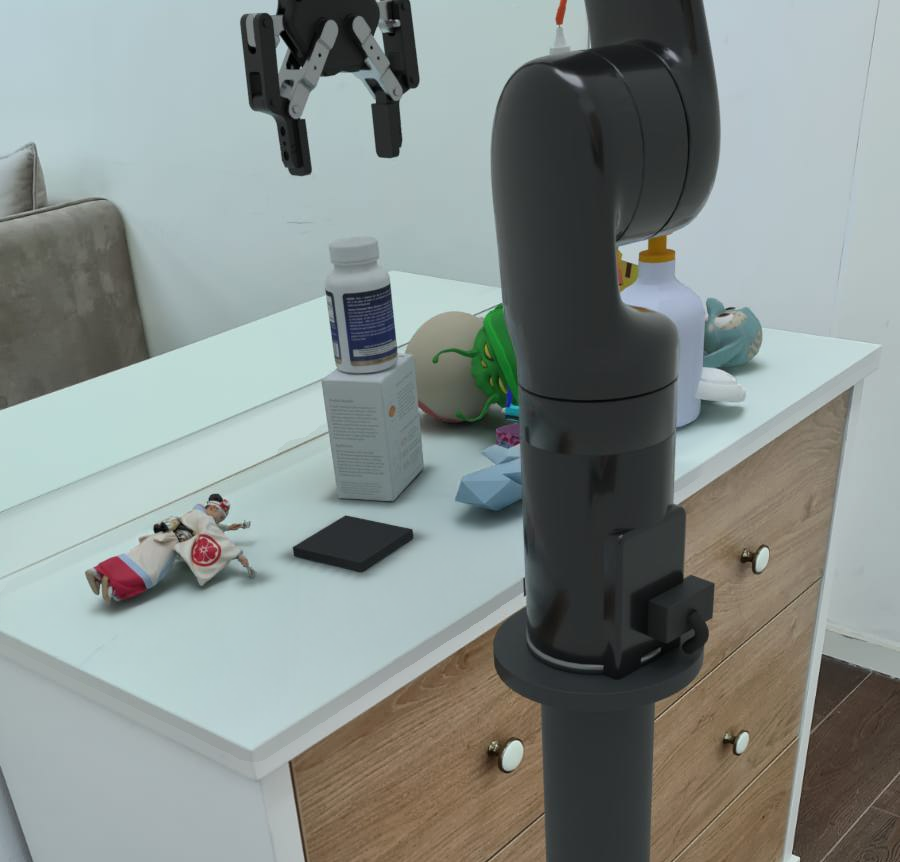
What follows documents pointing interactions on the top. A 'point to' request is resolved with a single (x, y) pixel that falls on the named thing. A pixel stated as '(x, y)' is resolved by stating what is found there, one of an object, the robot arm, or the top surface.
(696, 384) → the soap bottle
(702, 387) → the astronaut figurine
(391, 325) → the pill bottle
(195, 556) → the figurine
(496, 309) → the figurine
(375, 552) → the pad
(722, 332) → the stuffed animal
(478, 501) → the polygonal blue rock
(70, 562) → the top surface
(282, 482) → the top surface
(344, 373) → the small box
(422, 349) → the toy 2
